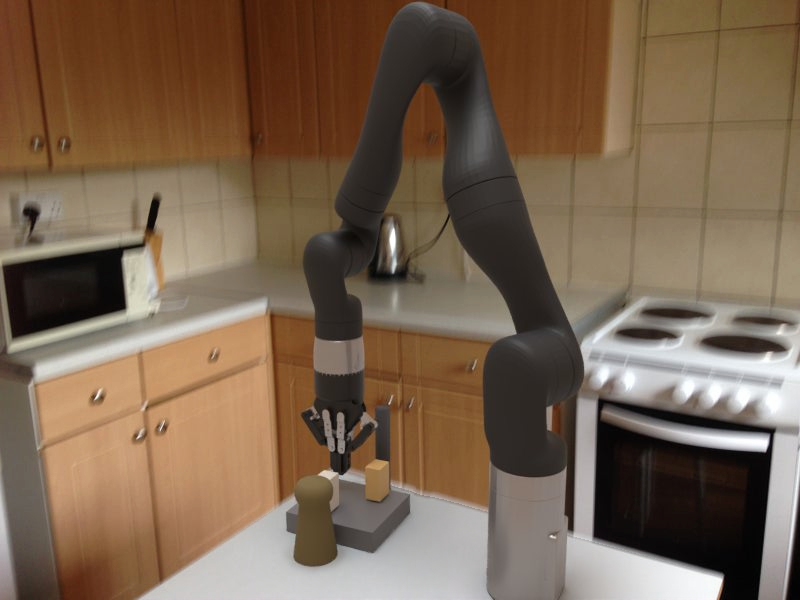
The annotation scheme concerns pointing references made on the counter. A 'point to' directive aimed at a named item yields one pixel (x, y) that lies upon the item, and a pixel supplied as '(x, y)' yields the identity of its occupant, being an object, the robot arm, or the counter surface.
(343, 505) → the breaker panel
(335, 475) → the cream rectangular block
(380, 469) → the block
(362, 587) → the counter surface
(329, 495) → the olive knobbed post
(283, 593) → the counter surface
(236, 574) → the counter surface
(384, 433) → the post
